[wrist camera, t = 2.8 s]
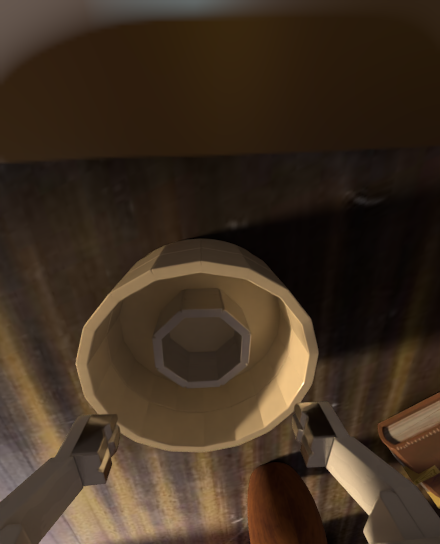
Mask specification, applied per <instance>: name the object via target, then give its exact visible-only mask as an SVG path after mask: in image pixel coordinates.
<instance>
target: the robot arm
mask: <svg viewBox="0 0 440 544" xmlns="http://www.w3.org/2000/svg"><path fill="white" fill-rule="evenodd" d="M294 410H295V414H294V415H293V417H292V427H293V431H294V435H295V437H296V440H297V441H299V442H300V443H301V449H300V451H301V453H302V456H303V458H304V461H305V464H306V466H307V467H326V468H327V469H328V470H329V472H330V473H331V474H332V475H333V476H334V477H335V478H336V479H337V480H338V482H339V483H340V484H341V485H342V486H343V487H344V488H345V489H346V490H347V492H348V493H349V494H350V495H351V496H352V497H353V498H354V499H355V500H356V502H357V503H358V504H359V505H360V506H361V507H362V508H363V509H364V510H365V512H366V513H367V514H368V515H369V517H368V520H367V522H366V524H365V527H364V530H363V532H364V535H365V537H366V539H367V541H368V543H369V544H440V518H439V517H438V515H437V514H436V512H435V511H434V510H433V508H432V507H431V505H430V504H429V503H428V501H427V500H426V499H425V497H424V496H423V494H422V493H421V492H420V490H419V489H418V487H417V486H415V485H414V484H413V483H412V482H410V481H409V480H408V479H406V478H405V477H404V476H403V475H401V474H400V473H399V472H397V471H396V470H395V469H394V468H392V467H391V466H390V465H389V464H387V463H386V462H385V461H383V460H382V459H381V458H380V457H378V456H377V455H376V454H375V453H373V452H372V451H371V450H369V449H368V448H367V447H366V446H364V445H363V444H362V443H360V442H359V441H358V440H357V439H355V438H354V437H350V436H349V434H348V433H347V431H346V430H345V428H344V426H343V425H342V423H341V421H340V420H339V418H338V416H337V415H336V413H335V411H334V410H333V408H332V406H331V405H330V403H329V402H327V401H324V402H305V403H296V404H295V406H294ZM117 420H118V417H117V414H98V415H80V416H79V417H78V418H77V419H76V420H75V422H74V424H73V426H72V427H71V429H70V431H69V433H68V435H67V436H66V438H65V440H64V442H63V444H62V445H61V447H60V449H59V451H58V453H57V454H56V456H55V458H50V459H49V460H48V461H47V462H46V463H45V464H43V465H42V466H41V467H40V468H39V469H38V470H37V471H35V472H34V473H33V474H32V475H31V476H30V477H29V478H27V479H26V480H25V481H24V482H23V483H22V484H21V485H19V486H18V487H17V488H16V489H15V490H14V491H13V492H11V493H10V494H9V495H8V496H7V497H6V498H5V499H3V500H2V501H1V502H0V544H38V543H39V542H40V541H41V539H42V538H43V537H44V536H45V535H46V533H47V532H48V531H49V530H50V528H51V527H52V526H53V525H54V523H55V522H56V521H57V520H58V518H59V517H60V516H61V515H62V513H63V512H64V511H65V510H66V508H67V507H68V506H69V505H70V503H71V502H72V501H73V500H74V499H75V497H76V496H77V495H78V494H79V492H80V491H81V490H82V489H83V486H88V485H97V484H106V481H107V478H108V475H109V472H110V469H111V466H112V461H111V457H112V456H113V455H114V454H115V453H116V451H117V448H118V445H119V439H120V427H119V426H118V425H117V424H116V423H117Z"/></svg>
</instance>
